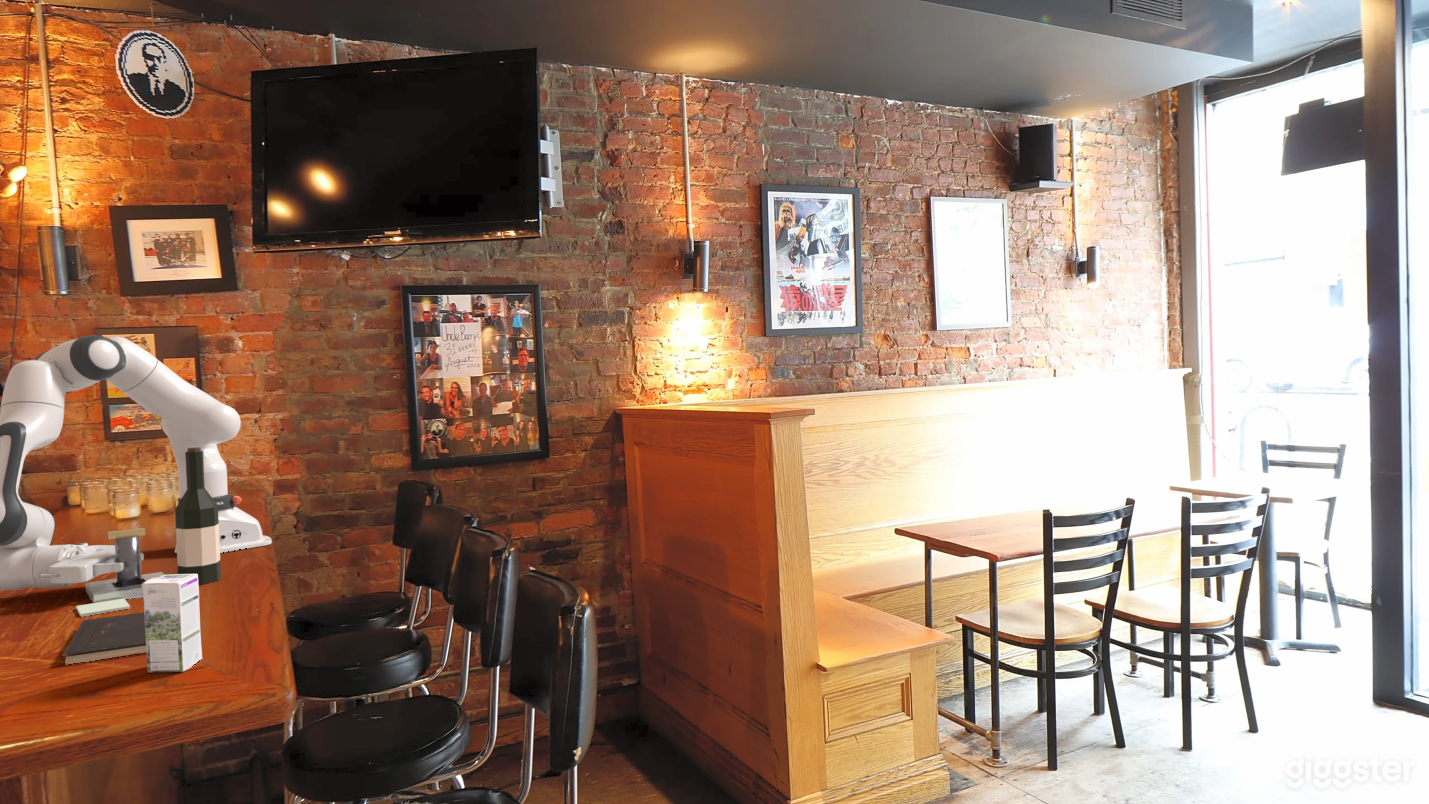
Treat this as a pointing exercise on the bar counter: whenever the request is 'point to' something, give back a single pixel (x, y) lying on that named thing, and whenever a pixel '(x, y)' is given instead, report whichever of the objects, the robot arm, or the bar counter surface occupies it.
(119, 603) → the coaster
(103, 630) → the hardcover book
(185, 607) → the syrup box
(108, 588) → the plate
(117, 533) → the t key
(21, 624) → the bar counter surface
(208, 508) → the wine bottle
